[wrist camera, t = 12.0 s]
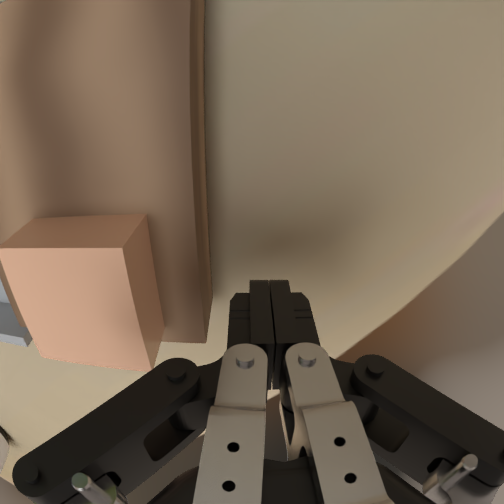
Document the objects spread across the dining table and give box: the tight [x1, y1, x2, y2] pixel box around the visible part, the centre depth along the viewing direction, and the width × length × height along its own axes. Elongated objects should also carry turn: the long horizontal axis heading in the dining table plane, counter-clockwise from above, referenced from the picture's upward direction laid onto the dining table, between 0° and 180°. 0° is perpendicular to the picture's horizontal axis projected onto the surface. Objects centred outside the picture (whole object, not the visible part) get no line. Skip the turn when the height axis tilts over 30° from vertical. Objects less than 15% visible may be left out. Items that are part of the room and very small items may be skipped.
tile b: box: [0, 214, 165, 372], centre depth 13 cm, size 6×6×3 cm
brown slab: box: [0, 0, 213, 343], centre depth 13 cm, size 12×18×4 cm, turn 179°
